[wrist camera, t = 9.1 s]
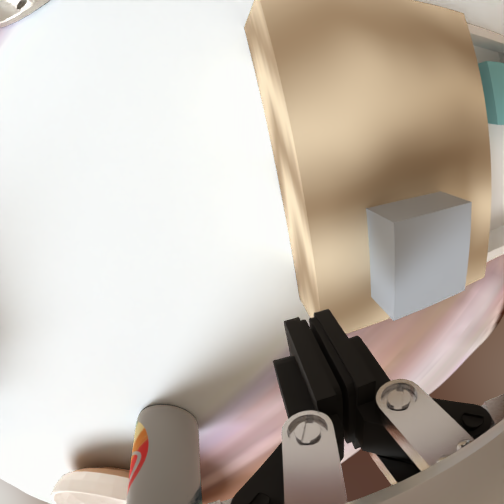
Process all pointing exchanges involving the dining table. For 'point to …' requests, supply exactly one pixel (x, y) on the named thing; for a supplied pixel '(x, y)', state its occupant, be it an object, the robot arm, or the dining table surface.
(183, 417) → the lotion bottle
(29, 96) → the dining table surface
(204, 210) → the dining table surface
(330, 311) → the robot arm
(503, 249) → the box
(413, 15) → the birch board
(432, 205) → the slate tile
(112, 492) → the bowl
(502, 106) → the teal tile
